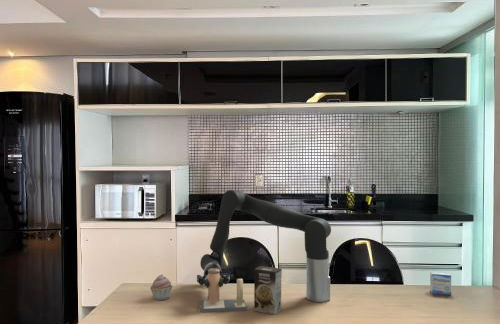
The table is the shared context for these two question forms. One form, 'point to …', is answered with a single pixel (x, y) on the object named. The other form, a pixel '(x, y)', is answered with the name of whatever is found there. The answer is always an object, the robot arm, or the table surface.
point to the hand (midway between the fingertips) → (214, 284)
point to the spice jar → (213, 285)
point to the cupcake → (161, 288)
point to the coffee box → (267, 289)
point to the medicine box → (440, 283)
